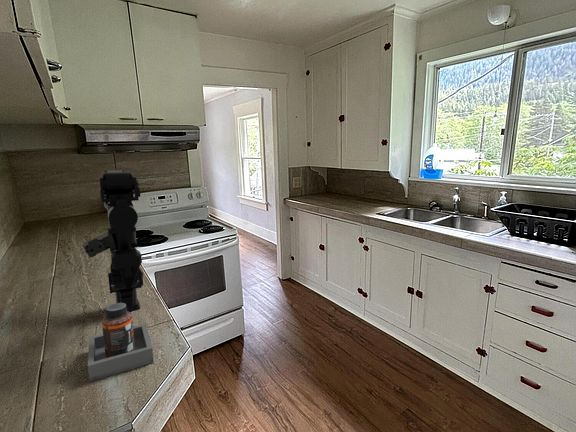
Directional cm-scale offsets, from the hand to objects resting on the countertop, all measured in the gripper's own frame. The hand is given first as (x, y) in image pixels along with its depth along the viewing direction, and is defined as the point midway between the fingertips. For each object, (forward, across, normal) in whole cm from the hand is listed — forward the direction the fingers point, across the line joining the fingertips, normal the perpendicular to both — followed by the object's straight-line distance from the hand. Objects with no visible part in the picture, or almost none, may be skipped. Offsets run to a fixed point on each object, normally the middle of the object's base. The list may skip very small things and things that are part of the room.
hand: (127, 282), depth 80 cm
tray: (+13, +12, -3) cm, 18 cm away
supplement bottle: (+12, +12, -3) cm, 17 cm away
